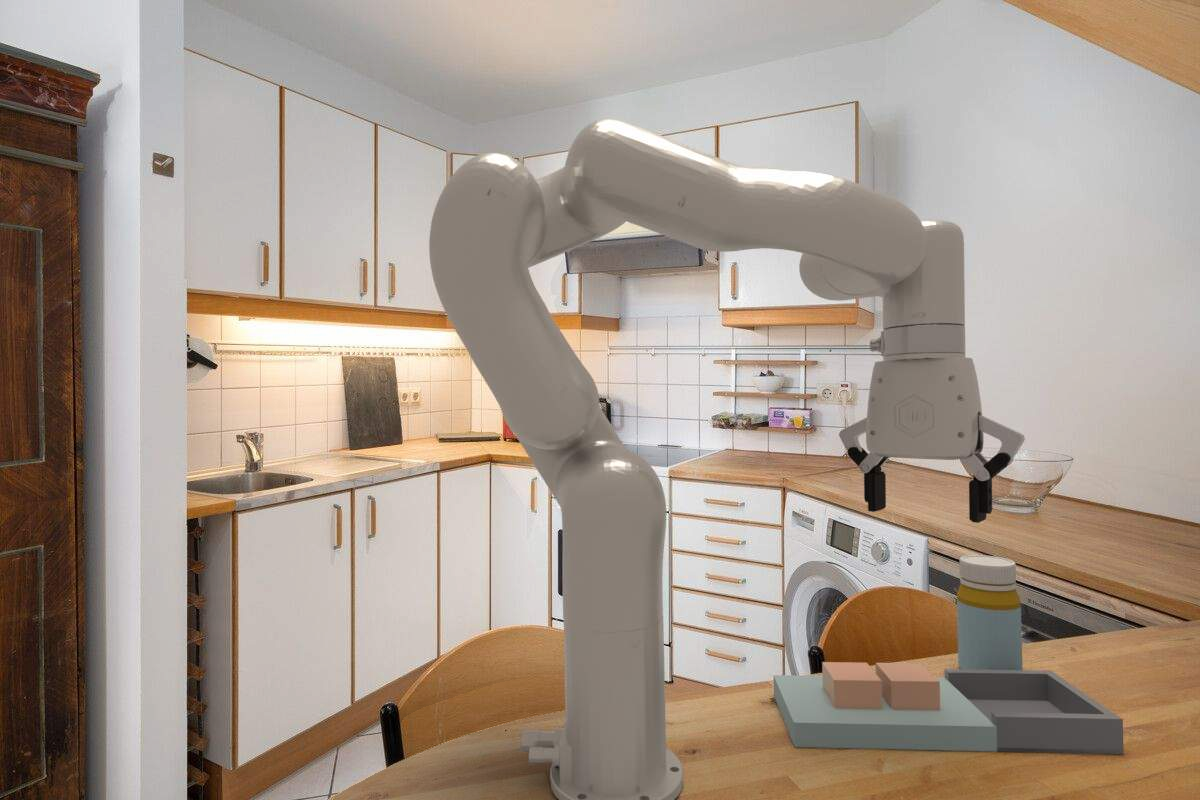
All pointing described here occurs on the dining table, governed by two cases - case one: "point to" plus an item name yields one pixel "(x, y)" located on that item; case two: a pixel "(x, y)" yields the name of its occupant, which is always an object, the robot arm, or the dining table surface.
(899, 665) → the tile
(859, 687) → the tile
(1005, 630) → the bottle
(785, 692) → the pale green lid panel
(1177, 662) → the dining table surface
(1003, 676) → the tray
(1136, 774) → the dining table surface
